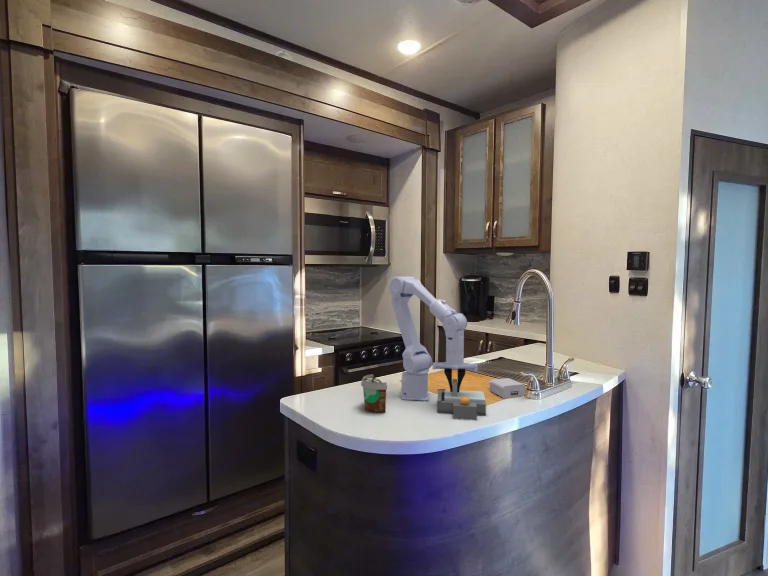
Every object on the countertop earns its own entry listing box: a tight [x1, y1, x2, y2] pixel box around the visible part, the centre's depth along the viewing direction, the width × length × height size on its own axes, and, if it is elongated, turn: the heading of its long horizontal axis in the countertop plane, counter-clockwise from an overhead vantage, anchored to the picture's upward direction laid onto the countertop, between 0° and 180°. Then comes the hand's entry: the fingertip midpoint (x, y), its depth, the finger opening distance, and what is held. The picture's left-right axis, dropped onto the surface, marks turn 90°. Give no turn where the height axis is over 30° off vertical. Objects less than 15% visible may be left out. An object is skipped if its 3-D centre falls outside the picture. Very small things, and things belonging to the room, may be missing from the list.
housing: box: [436, 389, 487, 421], centre depth 127 cm, size 15×16×4 cm
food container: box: [360, 374, 388, 414], centre depth 128 cm, size 12×6×10 cm, turn 23°
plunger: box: [460, 396, 469, 404], centre depth 121 cm, size 3×3×2 cm
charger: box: [488, 377, 527, 400], centre depth 147 cm, size 5×9×15 cm
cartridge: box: [444, 378, 486, 403], centre depth 129 cm, size 13×9×8 cm
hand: (454, 391), depth 129 cm, fingers closed on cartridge, 2 cm apart
